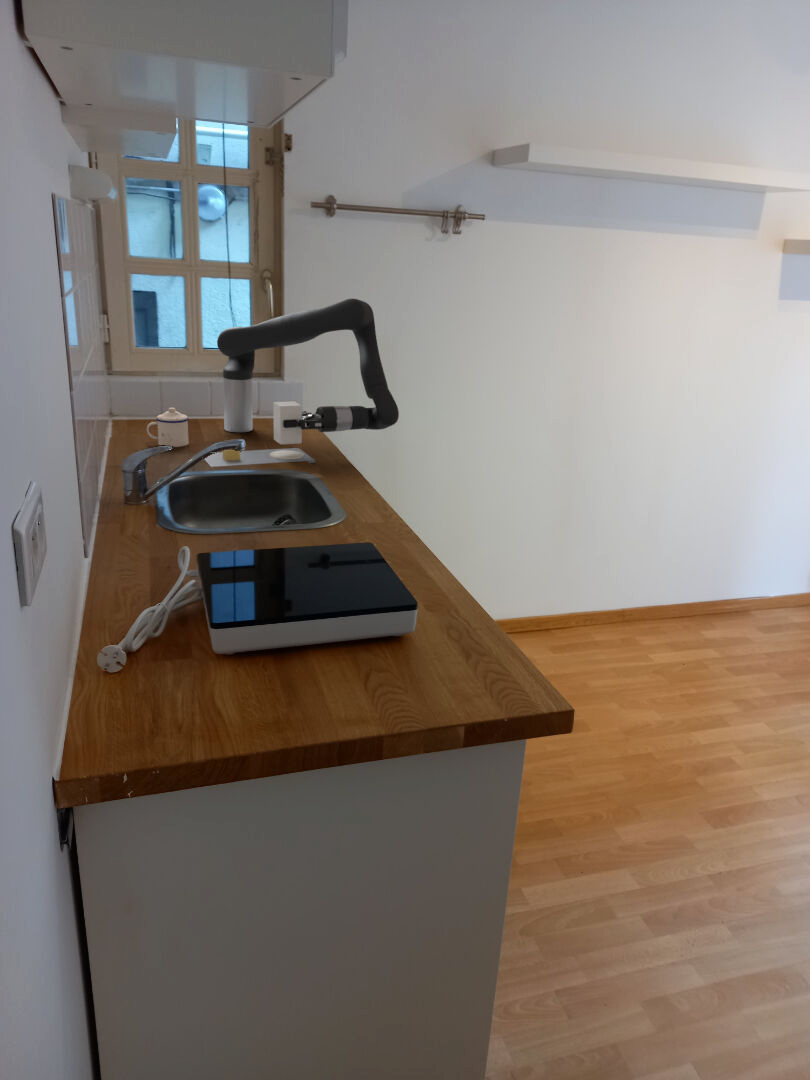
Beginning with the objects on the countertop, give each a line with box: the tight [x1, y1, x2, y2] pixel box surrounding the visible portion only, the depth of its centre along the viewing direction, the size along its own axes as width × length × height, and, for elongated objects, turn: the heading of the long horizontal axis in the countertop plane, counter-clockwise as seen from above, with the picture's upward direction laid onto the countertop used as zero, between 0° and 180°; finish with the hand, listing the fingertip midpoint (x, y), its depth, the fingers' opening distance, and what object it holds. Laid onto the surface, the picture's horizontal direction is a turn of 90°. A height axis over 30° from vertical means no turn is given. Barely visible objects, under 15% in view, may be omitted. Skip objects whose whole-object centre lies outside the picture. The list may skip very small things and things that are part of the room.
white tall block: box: [272, 400, 303, 445], centre depth 225 cm, size 6×6×11 cm
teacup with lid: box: [146, 407, 189, 448], centre depth 232 cm, size 12×9×12 cm
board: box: [203, 447, 316, 468], centre depth 225 cm, size 15×30×1 cm, turn 116°
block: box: [222, 450, 241, 461], centre depth 221 cm, size 4×4×3 cm
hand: (279, 421), depth 224 cm, fingers closed on white tall block, 6 cm apart
